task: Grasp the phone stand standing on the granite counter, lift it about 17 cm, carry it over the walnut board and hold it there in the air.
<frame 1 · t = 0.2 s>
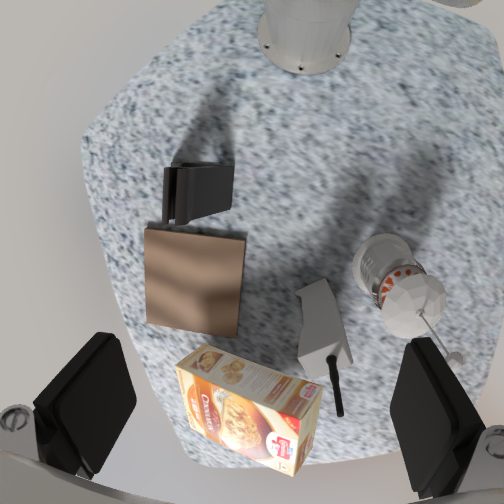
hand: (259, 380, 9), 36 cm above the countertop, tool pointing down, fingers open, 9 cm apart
vintage mobile phone: (314, 293, 47), on the countertop
walnut board: (192, 283, 49), on the countertop
coffeecake box: (195, 387, 48), point 6 cm above the countertop
phone stand: (201, 184, 44), on the countertop
french press: (384, 269, 45), on the countertop
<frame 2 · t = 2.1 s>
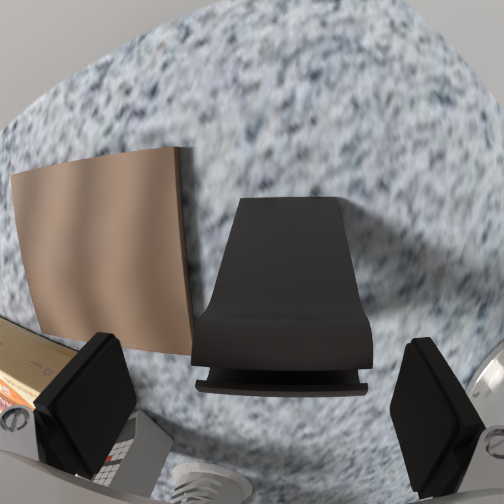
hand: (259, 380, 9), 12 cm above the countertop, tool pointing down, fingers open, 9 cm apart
vintage mobile phone: (147, 426, 28), on the countertop
walnut board: (93, 256, 23), on the countertop
coffeecake box: (10, 344, 23), point 4 cm above the countertop
phone stand: (289, 263, 21), on the countertop
french press: (206, 483, 30), on the countertop
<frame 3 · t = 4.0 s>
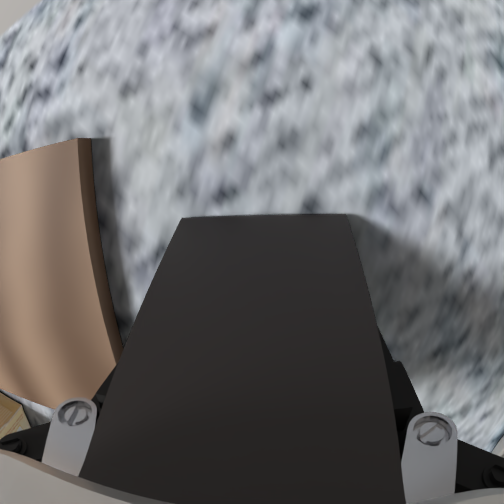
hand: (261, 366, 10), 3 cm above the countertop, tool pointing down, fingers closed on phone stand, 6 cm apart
walnut board: (7, 295, 14), on the countertop
phone stand: (267, 319, 13), on the countertop, touching gripper
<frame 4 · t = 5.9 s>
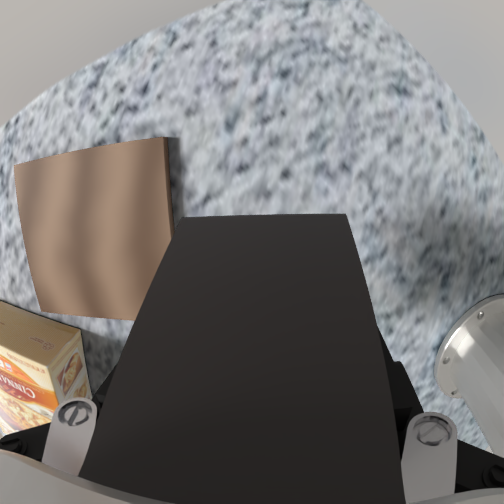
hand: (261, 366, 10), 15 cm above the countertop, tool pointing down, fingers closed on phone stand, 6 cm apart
walnut board: (90, 236, 26), on the countertop
coffeecake box: (11, 323, 25), point 4 cm above the countertop
phone stand: (267, 319, 13), point 12 cm above the countertop, touching gripper
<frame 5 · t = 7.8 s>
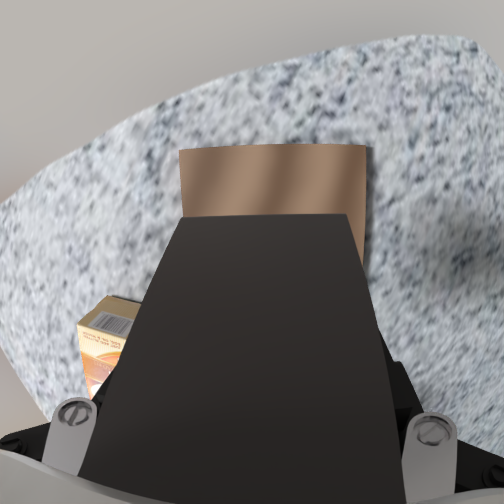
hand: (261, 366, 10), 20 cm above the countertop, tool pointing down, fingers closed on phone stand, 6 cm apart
walnut board: (274, 229, 29), on the countertop
coffeecake box: (157, 323, 29), point 4 cm above the countertop
phone stand: (267, 319, 13), point 16 cm above the countertop, touching gripper
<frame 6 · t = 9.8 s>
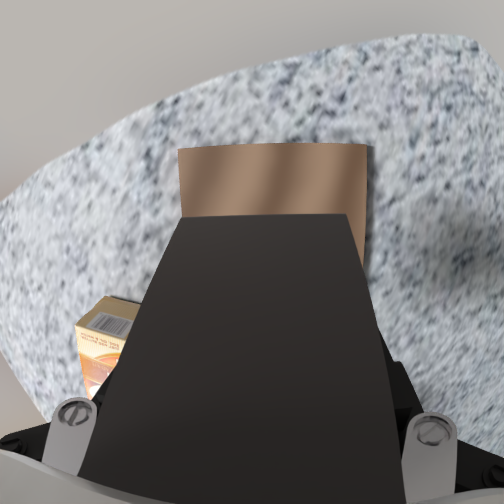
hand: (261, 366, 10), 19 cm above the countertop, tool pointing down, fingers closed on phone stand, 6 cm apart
walnut board: (274, 229, 29), on the countertop
coffeecake box: (156, 324, 29), point 4 cm above the countertop
phone stand: (267, 319, 13), point 16 cm above the countertop, touching gripper
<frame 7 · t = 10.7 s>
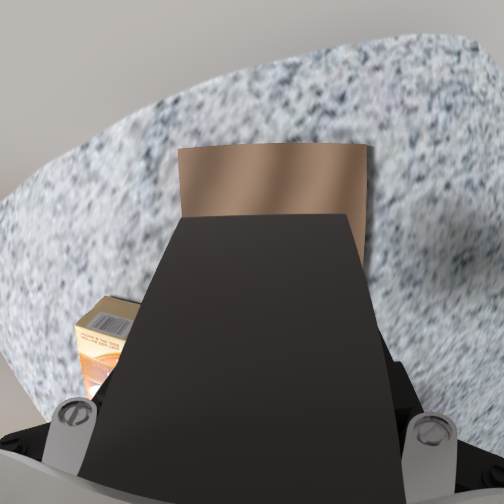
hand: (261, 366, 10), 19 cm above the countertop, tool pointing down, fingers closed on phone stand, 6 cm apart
walnut board: (274, 229, 29), on the countertop
coffeecake box: (156, 324, 29), point 4 cm above the countertop
phone stand: (267, 319, 13), point 16 cm above the countertop, touching gripper
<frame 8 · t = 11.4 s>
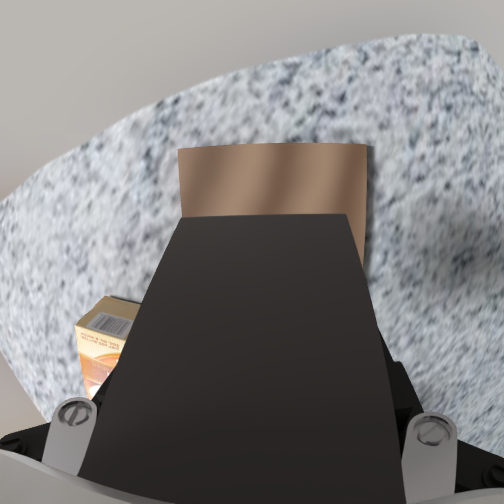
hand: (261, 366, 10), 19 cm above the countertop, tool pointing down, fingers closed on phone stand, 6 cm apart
walnut board: (274, 229, 29), on the countertop
coffeecake box: (156, 324, 29), point 4 cm above the countertop
phone stand: (267, 319, 13), point 16 cm above the countertop, touching gripper
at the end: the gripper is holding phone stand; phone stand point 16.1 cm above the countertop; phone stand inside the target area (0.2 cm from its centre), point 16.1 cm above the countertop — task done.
